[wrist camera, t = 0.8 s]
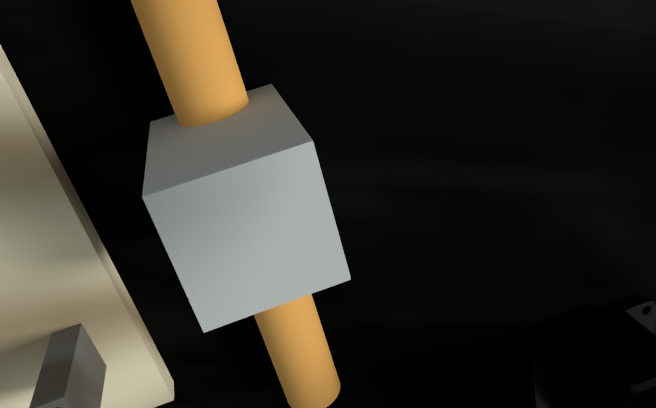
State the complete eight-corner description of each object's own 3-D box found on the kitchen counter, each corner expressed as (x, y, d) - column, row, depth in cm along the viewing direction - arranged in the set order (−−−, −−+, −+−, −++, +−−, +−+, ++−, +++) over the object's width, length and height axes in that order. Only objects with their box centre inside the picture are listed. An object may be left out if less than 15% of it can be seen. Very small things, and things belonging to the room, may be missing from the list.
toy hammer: (352, 355, 24) (404, 472, 18) (261, 389, 23) (289, 520, 18) (168, -262, 14) (167, -386, 9) (7, -223, 14) (-98, -331, 8)
